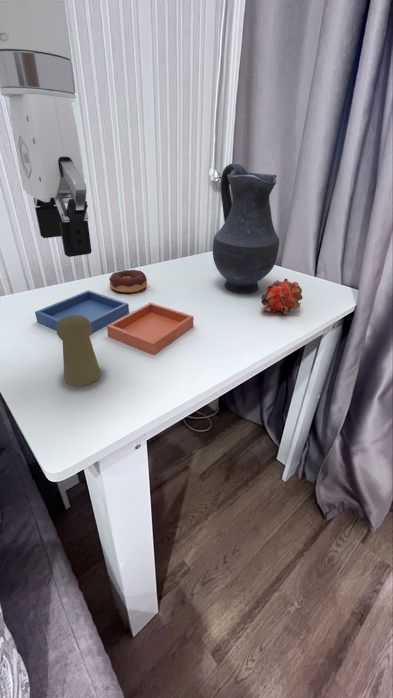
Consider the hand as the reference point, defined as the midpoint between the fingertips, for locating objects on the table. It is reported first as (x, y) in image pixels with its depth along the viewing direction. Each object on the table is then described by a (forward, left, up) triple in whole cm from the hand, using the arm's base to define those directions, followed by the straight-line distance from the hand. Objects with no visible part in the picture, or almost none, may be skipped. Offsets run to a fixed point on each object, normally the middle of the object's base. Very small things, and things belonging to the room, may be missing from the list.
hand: (65, 245), depth 44 cm
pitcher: (+54, -2, -23) cm, 59 cm away
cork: (0, +1, -23) cm, 23 cm away
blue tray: (+15, +17, -23) cm, 32 cm away
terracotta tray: (+19, +1, -23) cm, 30 cm away
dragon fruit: (+45, -18, -23) cm, 53 cm away
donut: (+34, +21, -23) cm, 46 cm away
